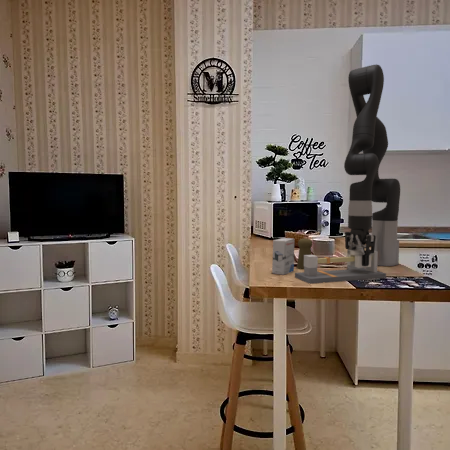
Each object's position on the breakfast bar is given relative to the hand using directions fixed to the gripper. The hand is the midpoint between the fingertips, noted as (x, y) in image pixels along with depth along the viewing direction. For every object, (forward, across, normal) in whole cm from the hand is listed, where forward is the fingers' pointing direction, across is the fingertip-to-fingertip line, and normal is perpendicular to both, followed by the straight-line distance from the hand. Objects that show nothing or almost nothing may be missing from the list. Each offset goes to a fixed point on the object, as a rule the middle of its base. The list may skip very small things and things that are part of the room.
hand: (358, 264), depth 138 cm
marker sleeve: (+1, 0, 0) cm, 1 cm away
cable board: (+4, 0, +7) cm, 8 cm away
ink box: (+4, +14, +21) cm, 26 cm away
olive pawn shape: (+4, +19, +10) cm, 22 cm away
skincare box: (+4, +12, -7) cm, 15 cm away
